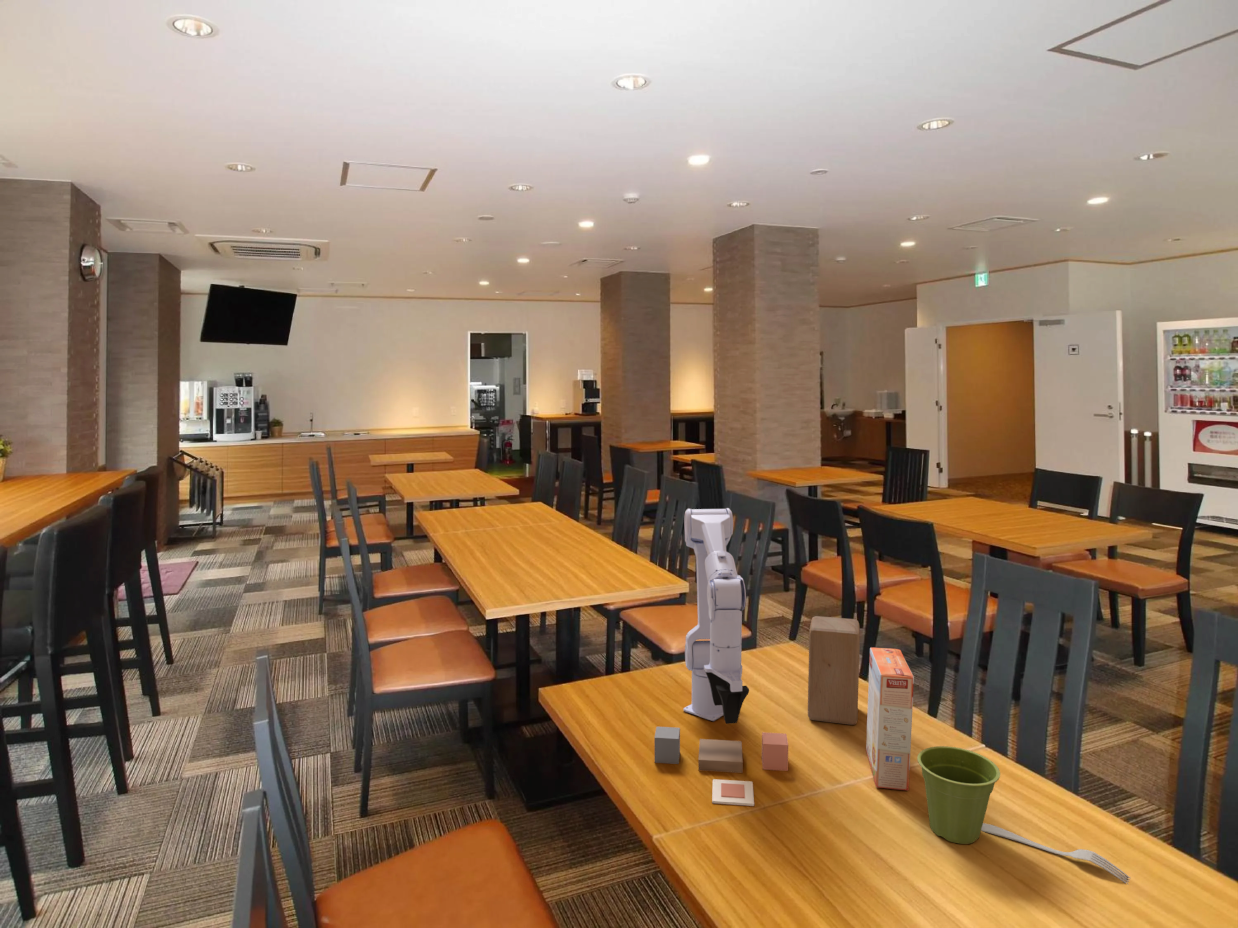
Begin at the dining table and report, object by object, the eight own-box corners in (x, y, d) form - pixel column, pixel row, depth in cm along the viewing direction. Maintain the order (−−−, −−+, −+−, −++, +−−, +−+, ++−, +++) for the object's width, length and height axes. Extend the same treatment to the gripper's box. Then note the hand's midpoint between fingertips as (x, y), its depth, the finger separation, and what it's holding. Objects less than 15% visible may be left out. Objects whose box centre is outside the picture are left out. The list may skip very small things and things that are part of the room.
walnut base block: (699, 750, 146) (699, 738, 146) (741, 753, 145) (741, 741, 145) (698, 772, 138) (698, 759, 138) (742, 774, 137) (742, 762, 137)
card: (712, 781, 134) (712, 777, 134) (752, 783, 133) (752, 780, 133) (712, 802, 127) (712, 799, 127) (754, 805, 126) (754, 802, 126)
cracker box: (911, 792, 130) (915, 676, 128) (874, 788, 131) (878, 674, 129) (898, 752, 144) (901, 647, 141) (865, 750, 145) (868, 645, 142)
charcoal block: (656, 750, 145) (656, 726, 145) (679, 752, 145) (679, 727, 144) (654, 762, 141) (654, 737, 140) (678, 764, 140) (678, 738, 140)
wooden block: (807, 721, 157) (809, 628, 155) (809, 701, 167) (811, 614, 164) (857, 727, 154) (860, 633, 152) (856, 706, 164) (859, 618, 161)
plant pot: (950, 861, 111) (953, 789, 110) (899, 817, 123) (901, 751, 122) (1015, 846, 115) (1018, 776, 114) (959, 804, 126) (962, 741, 125)
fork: (981, 837, 122) (979, 820, 122) (1135, 879, 108) (1133, 860, 108) (975, 845, 120) (974, 828, 119) (1132, 889, 106) (1130, 870, 105)
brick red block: (761, 757, 143) (762, 732, 142) (785, 758, 142) (786, 733, 141) (762, 769, 138) (763, 743, 138) (787, 770, 138) (788, 744, 137)
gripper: (695, 630, 145) (695, 698, 146) (714, 658, 130) (714, 732, 132) (730, 628, 146) (730, 695, 147) (754, 656, 131) (753, 729, 133)
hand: (725, 713), depth 140 cm, fingers open, 7 cm apart
